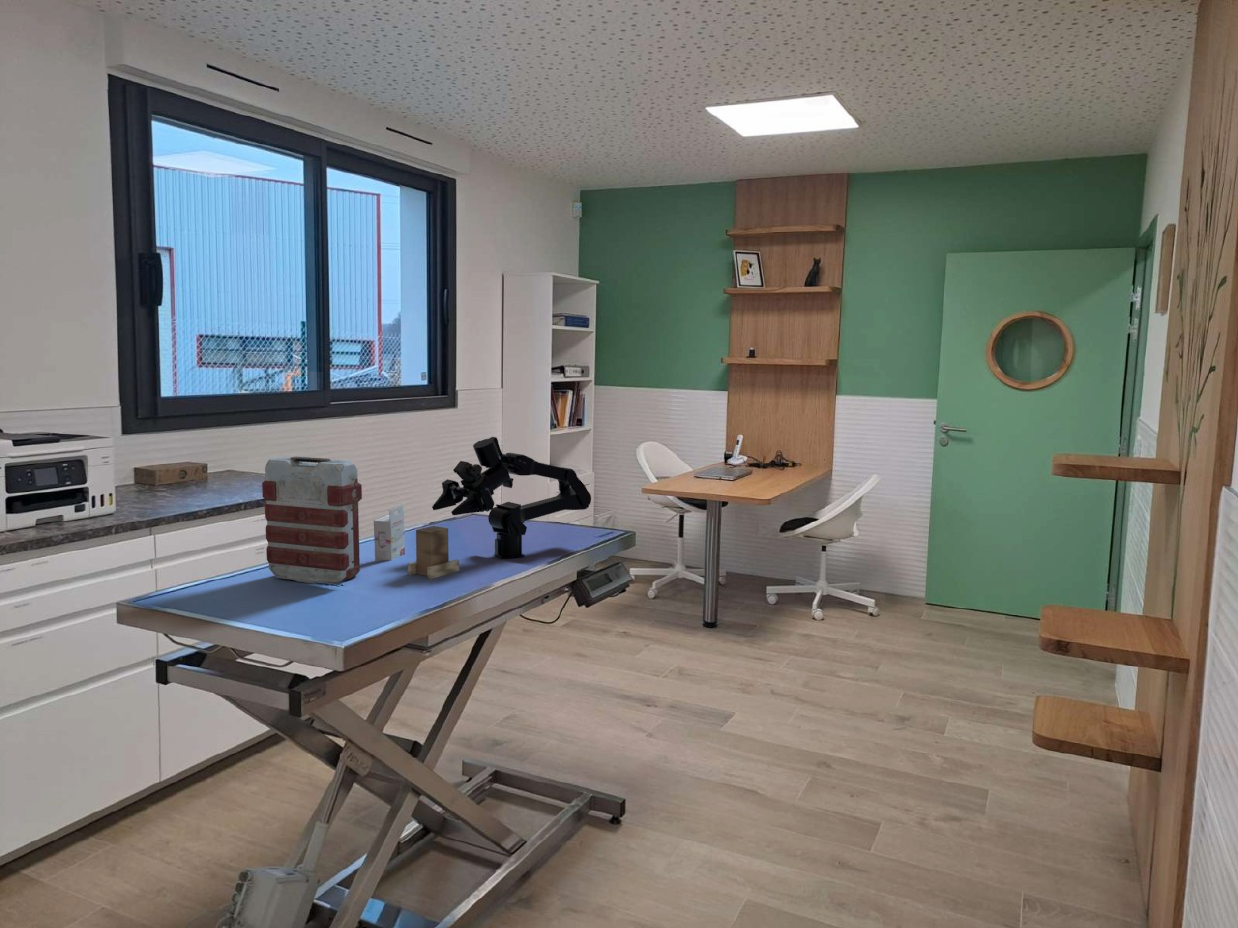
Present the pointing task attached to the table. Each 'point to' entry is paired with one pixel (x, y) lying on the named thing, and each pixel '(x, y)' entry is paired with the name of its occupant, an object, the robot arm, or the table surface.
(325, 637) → the table surface
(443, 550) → the block
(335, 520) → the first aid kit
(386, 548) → the ink cartridge box
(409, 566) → the chute
